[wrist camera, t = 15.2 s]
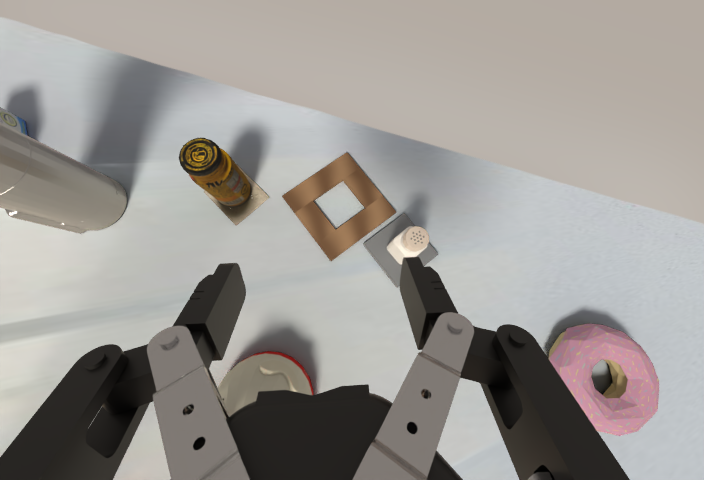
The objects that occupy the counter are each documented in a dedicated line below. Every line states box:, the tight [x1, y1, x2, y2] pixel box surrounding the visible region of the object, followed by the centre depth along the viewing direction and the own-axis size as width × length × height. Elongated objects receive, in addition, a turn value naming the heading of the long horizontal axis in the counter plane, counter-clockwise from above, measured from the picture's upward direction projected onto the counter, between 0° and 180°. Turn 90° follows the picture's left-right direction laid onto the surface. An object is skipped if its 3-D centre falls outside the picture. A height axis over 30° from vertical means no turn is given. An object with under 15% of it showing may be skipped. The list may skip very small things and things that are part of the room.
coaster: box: [363, 213, 438, 287], centre depth 45 cm, size 9×9×1 cm
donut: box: [548, 323, 659, 436], centre depth 40 cm, size 16×15×5 cm
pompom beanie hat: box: [218, 351, 313, 416], centre depth 32 cm, size 14×14×15 cm
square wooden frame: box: [282, 153, 396, 261], centre depth 46 cm, size 14×14×1 cm
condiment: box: [179, 138, 269, 225], centre depth 40 cm, size 7×8×12 cm
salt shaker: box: [387, 226, 429, 264], centre depth 40 cm, size 4×4×10 cm
